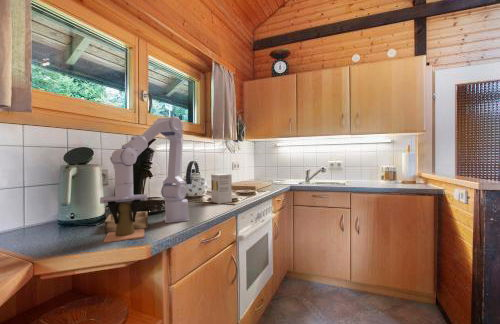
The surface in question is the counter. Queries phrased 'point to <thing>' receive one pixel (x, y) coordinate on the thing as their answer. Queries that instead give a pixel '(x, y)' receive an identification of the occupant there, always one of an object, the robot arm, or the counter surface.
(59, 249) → the counter surface
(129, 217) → the cork
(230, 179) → the supplement box
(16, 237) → the counter surface
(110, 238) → the terracotta tile
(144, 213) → the birch box
